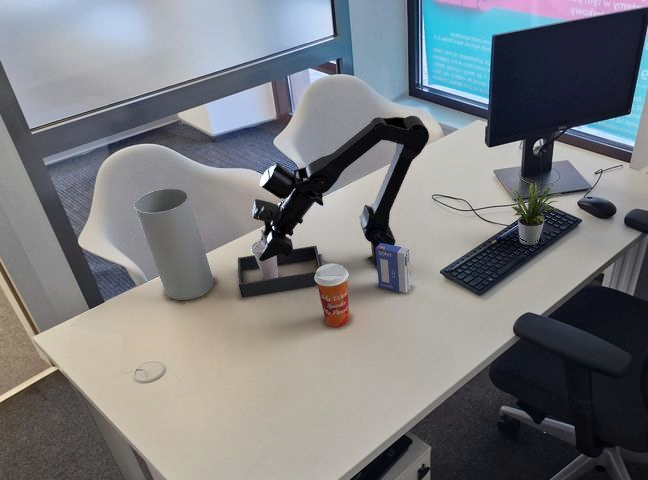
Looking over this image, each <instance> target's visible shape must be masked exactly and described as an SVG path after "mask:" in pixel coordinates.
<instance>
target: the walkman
mask: <svg viewBox="0 0 648 480" xmlns="http://www.w3.org/2000/svg"><path fill="white" fill-rule="evenodd" d="M376 260H377V267H376V270H377V281H378V288H381V289H385V290H389V291H394V292H397V293H403V294H407V292H408V291H410V289H411V288H412V285H411V284H412V282H411V264H410V248H409V247H405V246H399V245H389V244H384V243H380V244H379V245H378V246H377V247H376Z"/></svg>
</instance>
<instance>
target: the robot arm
mask: <svg viewBox="0 0 648 480" xmlns="http://www.w3.org/2000/svg"><path fill="white" fill-rule="evenodd" d="M429 139H430V133H429V130H428V128H427V126H426V125H425V124H424V122H423V120H422V119H421V118H420V117H418V116H417V115H408V116H406V117H403V116H402V117H401V116H393V117H379V116H378V117H374V118H373V119H372V120H371V121H370V123H368V124H367V125H366V126H364V127H363V128H362V129H361V130H359V131H358V132H357V133H356V134H354V135H353V136H352V137H351V138H350V139H348V140H347V141H346V142H344V144H342V145H341V146H339V148H337V149H336V150H335V151H334V152H332V153H330V154H327V155H323V156H321V157H318V158H317V159H315V160H313V161H311V162H310V163H309V164H308V165H307V166H304V167H301V168H298V169H294V170H292V172H291V171H290V170H288V169H287V168H285V167H284V166H283V165H282V164H281V163H280V162H275V163H274V165H271V166H270V167H268V168H267V169H266V170H265V171H264V173H263V175H262V176H261V179H260V181H259V187H261V188H262V189H263V190H265V191H267V192H269V193H270V194H272V195H273V196H275V197H276V198H278V199H279V200H280V201H279V202H278V203H277V204H276V203H274V202H271V201H267V200H263V199H259V198H256V199H254V202H253V207H252V210H251V212H252V219H254V220H256V221H260V222H263V223H264V227H263V229H262V230H263V232H264V236H265V239H266V242H267V244H266V246H265V248H264V250H263V251H262V253H261V255H260V257H259V260H260V261H262V262H263V261H265V260H267V259H269V258H272V257H274V256H276V255H279V254H284V255H286V256H287V257H289V256H290V255H291V254H292V252H293V249H294V245H293V241H292V239H291V238H290V237H292V236H293V235H294V229H295V228H296V227H297V225H298V224H300V225H302V224H303V222H304V216H305V215H306V214H307V213H308V212H309V210H310V209H311V208H312V206H313V205H314V204H315V203H316V204H317V205H319V206H321V207H323V206H324V200H323V197H324V194H325V193H327V192H328V191H330V189H331V188H332V187H333V186H334V185H335V184H336V183H337V181H338V180H339V178H340V177H341V175H342V173H343V172H344V171H345V170H346V169H347V168H348V167H350V166H351V165H352V164H353V163H355V162H356V161H357V160H359V159H360V158H361V157H362V156H364V155H365V154H366V153H367V152H369V151H370V150H371V149H372V148H374V147H375V146H376V145H377V144H379V143H380V142H381V141H388V142H391V143H393V144H394V143H395V144H396V146H395V152H394V155H393V157H392V160H391V162H390V164H389V166H388V169H387V170H386V171H387V172H386V174H385V176H384V179H383V181H382V184H381V186H380V188H379V191H378V192H377V195H376V198H375V199H374V202H373V203H372V204H371V205H368V204H364V206H363V210H362V213H361V214H360V215H359V220H360V227H361V230H362V232H363V235H364V237H365V240H366V241H367V242H369V243H370V247H371V248H370V249H371V256H368V257H367V261H369V262H370V263H371V264H372V265H373V266H375V267H376V268H377V260H376V247H377V246H378V245H379V244H380V243H384V244H389V245H394V246H396V241H397V240H396V238H395V236H394V234H393V230H392V228H391V227H390V218H391V217H390V216H391V210H392V208H393V206H394V203H395V201H396V199H397V197H398V194H399V192H400V189H401V187H402V185H403V183H404V181H405V179H406V176H407V173H408V171H409V169H410V167H411V165H412V163H413V161H414V160H415V159H416V158H417V157H418V156H419V155H420V154H421V153H422V152H423V150H424V149H425V147H426V145H427V144H428V143H429ZM288 236H290V237H288ZM260 240H263V237H262V234H261V236H260V237H259V240H258V241H260Z"/></svg>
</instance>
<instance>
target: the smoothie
mask: <svg viewBox="0 0 648 480" xmlns="http://www.w3.org/2000/svg"><path fill="white" fill-rule="evenodd" d="M263 230H264V229H261V230H260V232H261V235H262V237H263V240H260V239H259V240H260V241H259V240H257V241H255V242H254V243H252V244H251V248H250V249H251V253H252V255H255V258H256V260H257V262H258V265H259V267H260V268H259V270H260V272H261V274H262V277H263V280H266V279H272V278H278V277H279V272H278V271H279V269H278V265H277V257H276V256H274V257H272V258H269V259H267V260H265V261H263V262H262V261H260V260H259V257H260V255H261V253H262V251H263V250H264V248H265V246H266V244H267V242H266V239H265V236H264V232H263Z"/></svg>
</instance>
